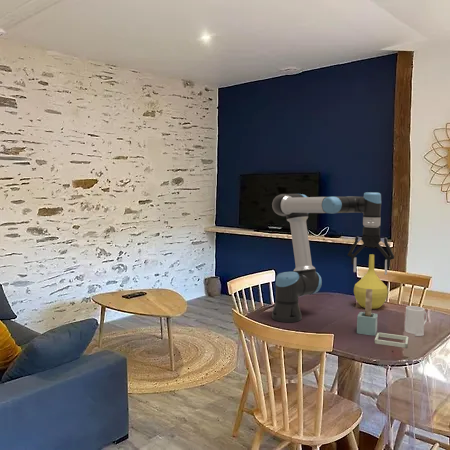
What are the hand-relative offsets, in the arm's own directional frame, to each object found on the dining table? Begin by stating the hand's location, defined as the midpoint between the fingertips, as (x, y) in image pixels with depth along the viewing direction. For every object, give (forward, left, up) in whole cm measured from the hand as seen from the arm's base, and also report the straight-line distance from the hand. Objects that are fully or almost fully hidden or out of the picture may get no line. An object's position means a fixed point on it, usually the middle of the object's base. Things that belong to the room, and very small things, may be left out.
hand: (370, 273), depth 210 cm
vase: (-5, +51, -29) cm, 59 cm away
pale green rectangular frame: (+11, -9, -29) cm, 32 cm away
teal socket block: (-1, 0, -29) cm, 29 cm away
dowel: (0, 0, -28) cm, 28 cm away
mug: (+20, +12, -29) cm, 38 cm away
